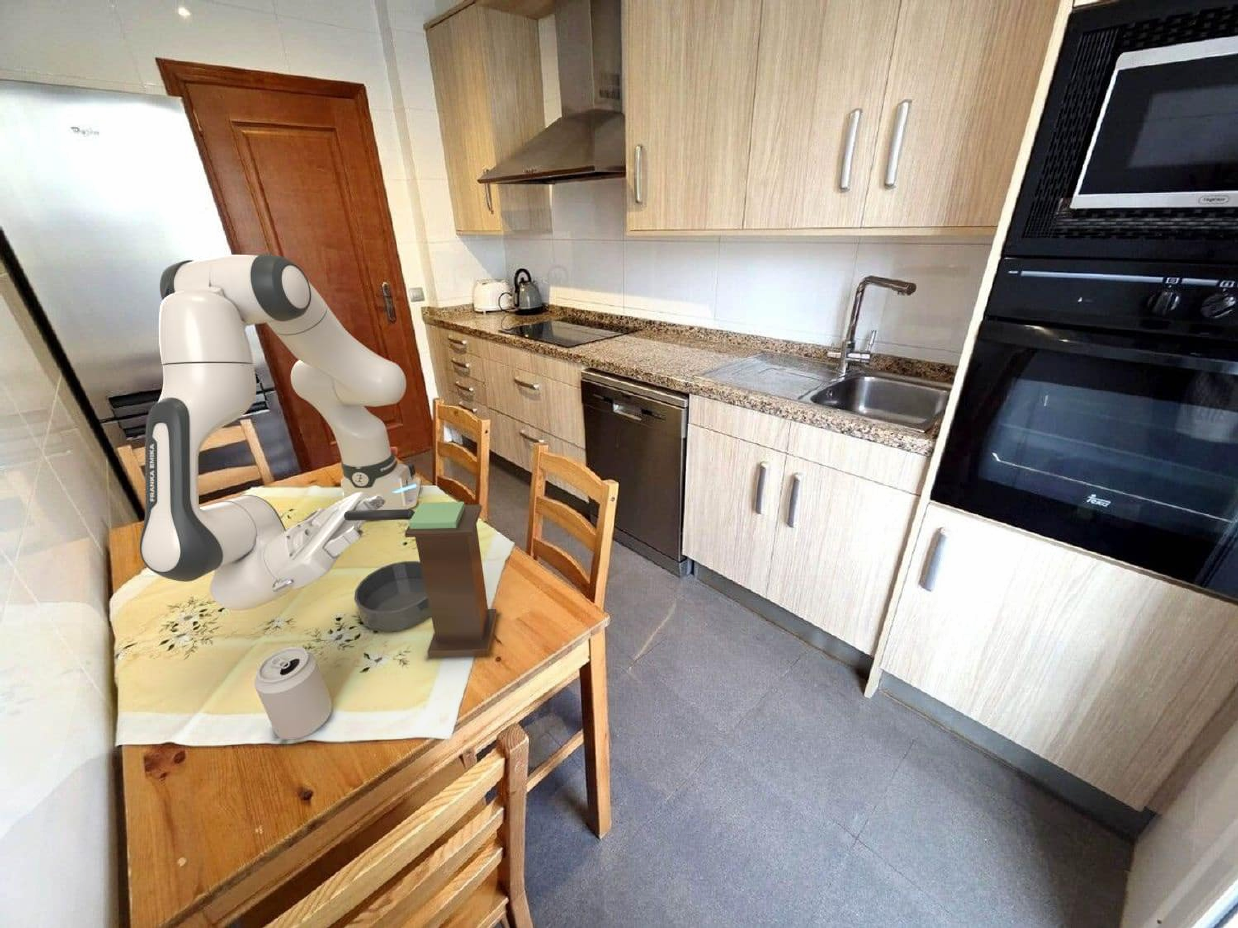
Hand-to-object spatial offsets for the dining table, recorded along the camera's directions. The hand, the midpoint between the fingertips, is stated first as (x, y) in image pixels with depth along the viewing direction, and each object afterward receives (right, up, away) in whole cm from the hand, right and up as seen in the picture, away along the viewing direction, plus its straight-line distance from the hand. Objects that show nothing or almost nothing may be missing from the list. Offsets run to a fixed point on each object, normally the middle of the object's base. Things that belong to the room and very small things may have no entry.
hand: (370, 514), depth 78 cm
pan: (-3, -19, +19) cm, 28 cm away
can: (-8, -31, -3) cm, 32 cm away
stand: (+11, -23, +12) cm, 28 cm away
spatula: (+5, -1, +1) cm, 5 cm away
